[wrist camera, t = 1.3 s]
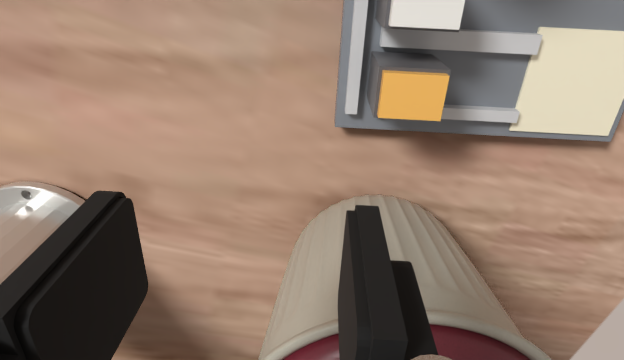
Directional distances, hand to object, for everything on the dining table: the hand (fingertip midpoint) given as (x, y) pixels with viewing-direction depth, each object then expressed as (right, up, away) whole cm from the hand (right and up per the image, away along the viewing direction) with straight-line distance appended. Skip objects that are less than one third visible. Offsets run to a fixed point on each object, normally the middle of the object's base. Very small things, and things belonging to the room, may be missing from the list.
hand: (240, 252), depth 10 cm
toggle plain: (+8, +13, +15) cm, 21 cm away
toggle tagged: (+8, +9, +17) cm, 21 cm away
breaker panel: (+14, +11, +18) cm, 25 cm away
